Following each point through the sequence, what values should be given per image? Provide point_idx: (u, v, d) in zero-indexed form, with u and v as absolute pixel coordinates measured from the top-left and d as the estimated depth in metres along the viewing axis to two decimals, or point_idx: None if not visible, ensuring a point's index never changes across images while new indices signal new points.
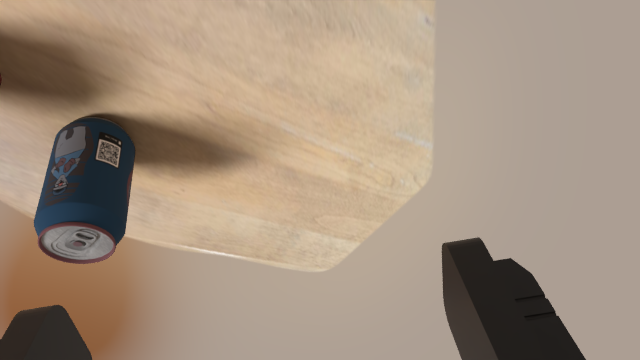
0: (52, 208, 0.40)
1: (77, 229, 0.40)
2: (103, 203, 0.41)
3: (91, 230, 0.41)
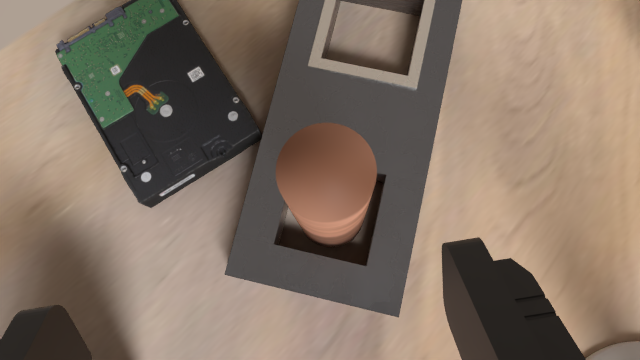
0: None
1: None
2: None
3: None
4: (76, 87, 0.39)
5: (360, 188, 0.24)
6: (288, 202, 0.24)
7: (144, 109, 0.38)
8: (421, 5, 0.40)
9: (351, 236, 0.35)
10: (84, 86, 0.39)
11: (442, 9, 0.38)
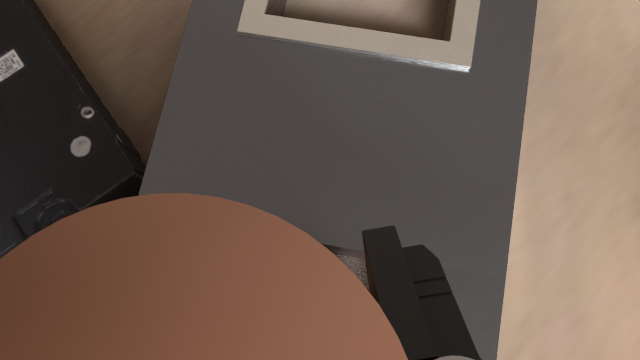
0: None
1: None
2: None
3: None
4: None
5: None
6: None
7: None
8: None
9: None
10: None
11: None
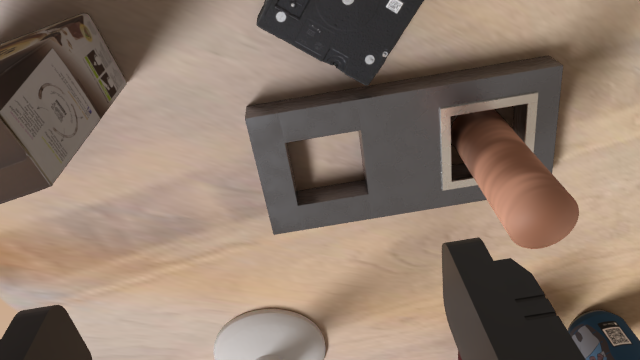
0: None
1: None
2: None
3: None
4: None
5: (534, 241, 0.36)
6: (516, 208, 0.34)
7: None
8: None
9: None
10: None
11: None
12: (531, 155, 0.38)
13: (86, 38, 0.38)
